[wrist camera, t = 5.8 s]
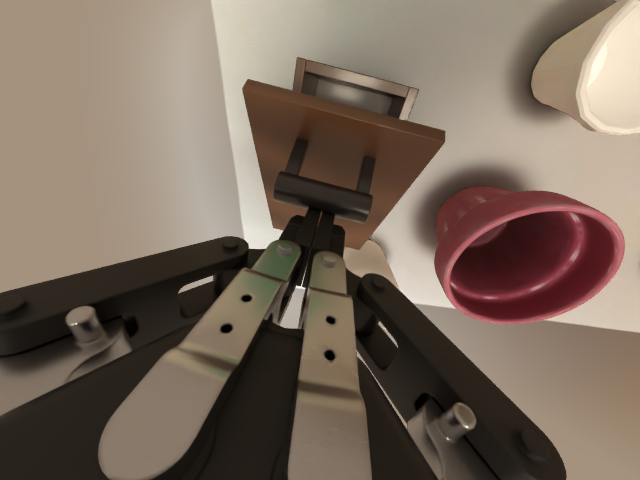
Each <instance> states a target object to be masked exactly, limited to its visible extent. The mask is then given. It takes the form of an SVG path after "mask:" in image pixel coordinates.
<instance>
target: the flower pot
mask: <svg viewBox="0 0 640 480" xmlns="http://www.w3.org/2000/svg"><path fill="white" fill-rule="evenodd" d="M436 231H437V241H438V246H437V250H436V254H435V260H434V264H435V271H436V274H437V277H438V279H439V281H440V284H441V286H442V288H443V290H444V292H445V294H446V296H447V297H448V299H449V301H450V302H451V303H452V304H453V306H454V307H456V308H457V309H458V310H459V311H460V312H462V313H464V314H465V315H467V316H469V317H472V318H474V319H477V320H480V321H484V322H489V323H496V324H521V323H529V322H535V321H540V320H544V319H548V318H552V317H555V316H557V315H560V314H563V313H565V312H567V311H570V310H572V309H574V308H576V307H578V306H579V305H581V304H583V303H585V302H586V301H588V300H589V299H591V298H592V297H594V296H595V295H596V294H598V293H599V292H600V291H601V290H602V289H603V288H604V287H605V286H606V285H607V284H608V283H609V282H610V280H611V279H612V278H613V277H614V275H615V274H616V272H617V270H618V269H619V267H620V264H621V262H622V260H623V256H624V250H625V241H624V237H623V234H622V231H621V230H620V228H619V227H618V225H617V224H616V223H615V222H614V221H613V220H612V219H611V218H610V217H608V216H607V215H605V214H603V213H602V212H600V211H598V210H596V209H594V208H592V207H590V206H588V205H586V204H583V203H581V202H579V201H577V200H575V199H572V198H569V197H567V196H564V195H561V194H558V193H553V192H547V191H521V192H512V191H508V190H502V189H496V188H492V187H486V186H475V187H470V188H466V189H463V190H461V191H459V192H457V193H455V194H454V195H452V196H451V197H450V198H448V199H447V200H446V201H445V202H444V203H443V205H442V206H441V208H440V209H439V211H438V213H437V216H436Z"/></svg>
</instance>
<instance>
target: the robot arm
mask: <svg viewBox="0 0 640 480" xmlns="http://www.w3.org/2000/svg"><path fill="white" fill-rule="evenodd" d="M320 215H321V212H320V211H316V210H312V209H308V210H307V213H306V215H305V217H304V216H300V215H295V216H293V217H291V218H290V220H289V222H288V224H287V225H286V228H285V229H284V231H283V233H282V234H281V236H280V238H279V240H276V241H273V242H272V243H270V245H269V246H268V247H267V248H266V249H249V246H248V243H247V242H246V241H245V240H243V239H241V238H239V237H233V236H227V237H222V238H218V239H214V240H210V241H206V242H202V243H198V244H194V245H190V246H186V247H182V248H178V249H174V250H170V251H166V252H162V253H158V254H154V255H150V256H146V257H142V258H138V259H134V260H130V261H126V262H122V263H118V264H114V265H110V266H106V267H102V268H98V269H94V270H90V271H86V272H82V273H78V274H74V275H70V276H66V277H62V278H58V279H54V280H50V281H46V282H42V283H38V284H34V285H30V286H26V287H22V288H18V289H14V290H10V291H6V292H3V293H0V480H566V470H565V467H564V463H563V461H562V459H561V457H560V455H559V453H558V451H557V450H556V448H555V447H554V445H553V444H552V442H551V441H550V440H549V439H548V437H547V436H546V435H545V434H544V433H543V432H542V431H541V430H540V429H539V428H538V427H537V426H536V425H535V424H534V423H533V422H532V421H531V420H530V419H529V418H528V417H527V416H526V415H525V414H524V413H523V412H522V411H521V410H520V409H519V408H518V407H517V406H516V405H515V404H514V403H513V402H512V401H511V400H510V399H509V398H508V397H507V396H506V395H505V394H504V393H503V392H502V391H501V390H500V389H499V388H498V387H497V386H496V385H495V384H494V383H493V382H492V381H491V380H490V379H489V378H488V377H487V376H486V375H485V374H484V373H483V372H482V371H480V369H479V368H477V366H476V365H475V364H474V363H473V362H471V360H469V359H468V358H467V357H466V356H465V355H464V354H463V353H462V352H461V351H460V350H459V349H458V348H457V347H456V346H455V345H454V344H453V343H452V342H451V341H450V340H449V339H448V338H447V337H446V336H445V335H444V334H443V333H442V332H441V331H440V330H439V329H438V328H437V327H436V326H435V325H434V324H433V323H432V322H431V321H430V320H429V319H428V318H427V317H426V316H425V315H424V314H423V313H422V312H421V311H420V310H419V309H418V308H416V306H415V305H414V304H413V303H412V302H411V301H410V300H409V299H408V298H407V297H406V296H405V295H404V294H403V293H402V292H401V291H400V290H399V289H398V288H397V287H395V286H394V285H393V284H392V283H391V282H390V281H389V280H388V279H387V278H385V277H384V276H381V275H379V274H375V273H368V274H365V275H364V276H363V277H362V278H361V277H359V276H357V275H355V274H354V273H352V272H351V271H349V270H348V269H347V268H346V266H345V261H344V259H343V255H344V244H345V230H344V229H343V227H342V226H339V225H335V224H334V218H335V215H332V214H328V213H324V212H322V215H321V218H320ZM319 219H320V221H319ZM318 223H319V224H318ZM317 227H318V228H317ZM306 267H307V268H306ZM305 270H306V272H305ZM304 274H305V277H304ZM212 275H213V281H212V282H209V283H206V284H203V285H201V286H198V287H195V288H192V289H190V290H187V291H184V292H181V293H179V294H178V292H179V290H180V289H181V288H182V287H183V286H185V285H187V284H190V283H192V282H195V281H198V280H201V279H204V278H207V277H209V276H212ZM303 277H304V281H303V285H302V287H305V288H306V289H305V293H304V297H303V301H302V307H301V313H300V318H299V324H298V329H288V328H283V327H281V326H279V325H280V323H281V320H282V318H283V316H284V314H285V311H286V309H287V307H288V305H289V302H290V300H291V297H292V293H293V292H294V290H295V287H296V285H297V286H301V284H302V280H303ZM379 322H381V323H382V324H383V326H384V327H385V328H386V329H387V330H388V332H389V333H390V334H391V335H392V336H393V338H394V339H395V340H396V342H397V345H398V348H397V346H396V345H395V344H394V343H393V342H392V340H391V339H390V338H389V337H388V335H387V334H386V333H385V332H384V330H383V329H382V328H381V327H380V326H379V324H378V323H379ZM356 349H357V350H356ZM356 351H358V352H359V354H360V355H361V357H362V358H363V360H364V361H365V363H366V364H367V366H368V367H369V368H370V370H371V371H372V373H373V374H374V376H375V377H376V379H377V380H378V382H379V383H380V385H381V386H382V388H383V389H384V391H385V392H386V394H387V395H388V396H389V398H390V399H391V401H392V403H393V404H394V406H395V407H396V408H397V410H398V411H399V413H400V414H401V416H402V417H403V419H404V420H405V422H406V423H407V429H406V427H405V426H404V425H403V423H402V421H401V419H400V418H399V416H398V415H397V413H396V412H395V410H394V408H393V407H392V405H391V404H390V402H389V401H388V399H387V397H386V396H385V394H384V393H383V391H382V389H381V388H380V386H379V385H378V383H377V382H376V380H375V378H374V377H373V375H372V374H371V372H370V371H369V369H368V368H367V367H366V365H365V364H364V363H363V362H362V361H361V360H360V359H359V358H358V357H357V352H356Z"/></svg>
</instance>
